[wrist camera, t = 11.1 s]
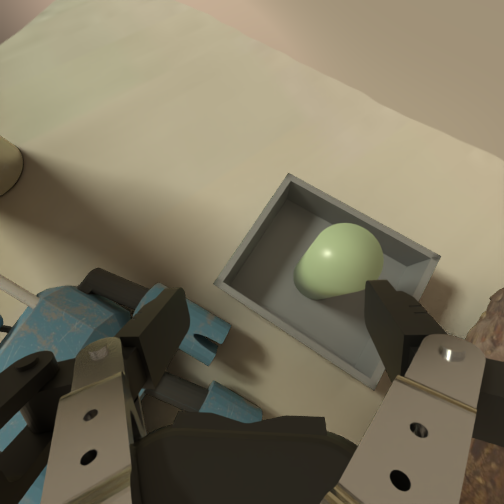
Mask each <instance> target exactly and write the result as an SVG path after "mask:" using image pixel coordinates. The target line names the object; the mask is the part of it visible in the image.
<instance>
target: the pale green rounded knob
mask: <svg viewBox="0 0 504 504" xmlns="http://www.w3.org/2000/svg"><path fill="white" fill-rule="evenodd" d="M383 263H384V258H383V252H382V248H381V246H380V244H379V242H378V240H377V239H376V238H375V237H374V235H373V234H372V233H370V232H369V231H368V230H366V229H365V228H363V227H361V226H359V225H356V224H352V223H339V224H335V225H332V226H329V227H328V228H326V229H325V230H323V231H322V232H321V233H320V234H319V235H318V237H317V238H316V239H315V241H314V242H313V243H312V245H311V246H310V247H309V249H308V250H307V251H306V253H305V254H304V255H303V257H302V258H301V259H300V261H299V262H298V263H297V265H296V266H295V269H294V272H293V279H294V284H295V286H296V288H297V289H298V291H299V292H300V293H301V294H302V295H304V296H305V297H307V298H310V299H314V300H320V299H326V298H330V297H335V296H339V295H344V294H348V293H353V292H358V291H361V290H364V289H365V284H366V281H367V280H377V279H378V278H379V276H380V274H381V272H382V269H383Z"/></svg>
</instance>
